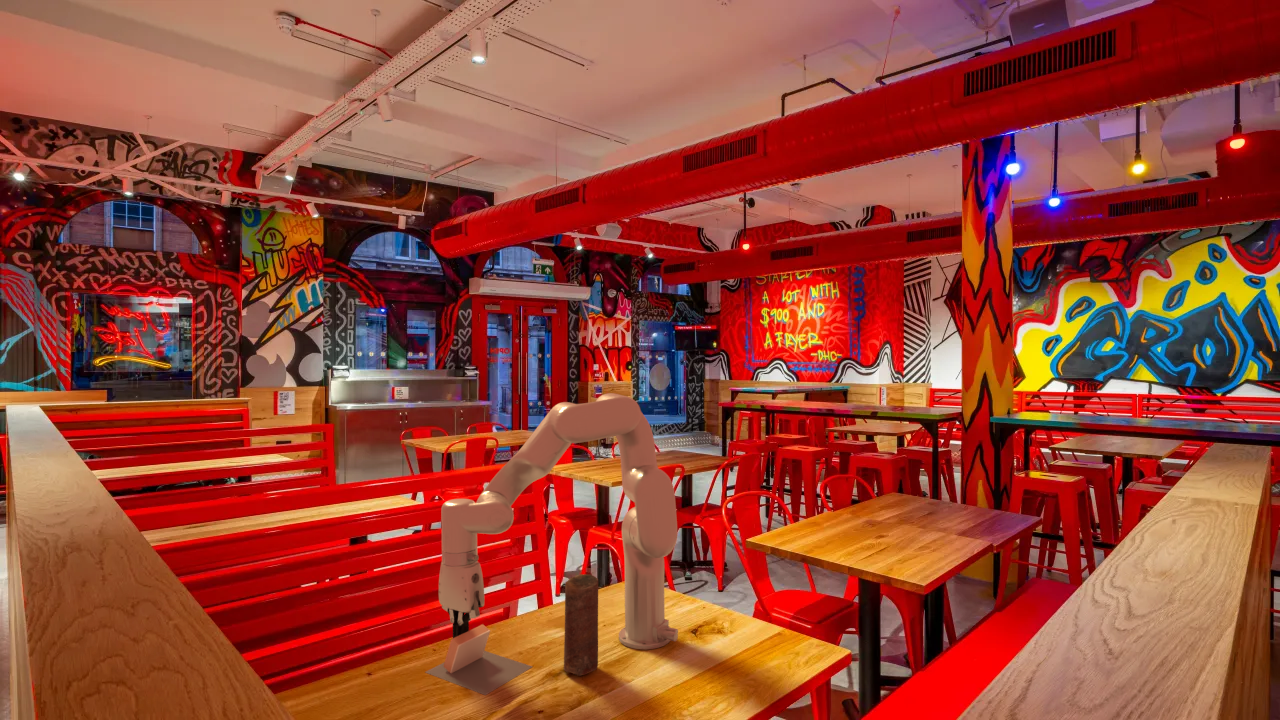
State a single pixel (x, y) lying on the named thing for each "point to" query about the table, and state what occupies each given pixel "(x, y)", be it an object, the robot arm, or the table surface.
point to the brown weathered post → (581, 624)
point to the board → (482, 673)
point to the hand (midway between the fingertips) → (460, 639)
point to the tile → (466, 648)
